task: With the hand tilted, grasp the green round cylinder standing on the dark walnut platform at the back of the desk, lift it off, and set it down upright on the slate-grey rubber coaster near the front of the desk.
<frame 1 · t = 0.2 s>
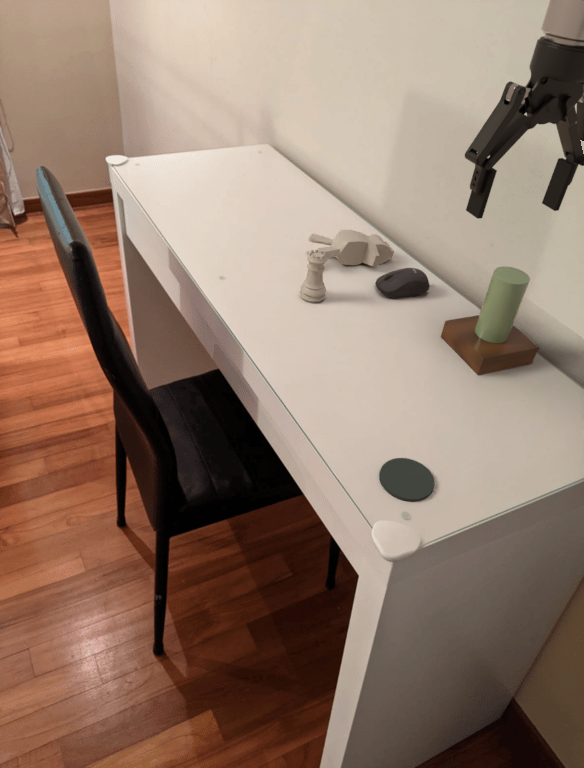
hand: (512, 210, 86), 20 cm above the table, tool pointing down, fingers open, 13 cm apart
rook chess piece: (312, 297, 102), on the table
coaster: (406, 480, 71), on the table
walnut platform: (485, 349, 94), on the table
computer mouse: (401, 291, 106), on the table
green round cylinder: (491, 333, 92), point 3 cm above the table, touching walnut platform
bunny figurine: (350, 261, 113), on the table
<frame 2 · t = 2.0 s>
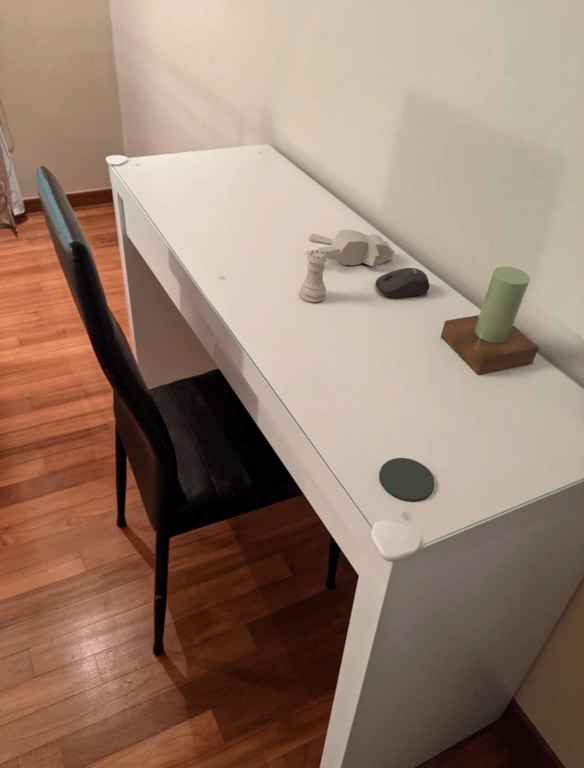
nothing on the table moved.
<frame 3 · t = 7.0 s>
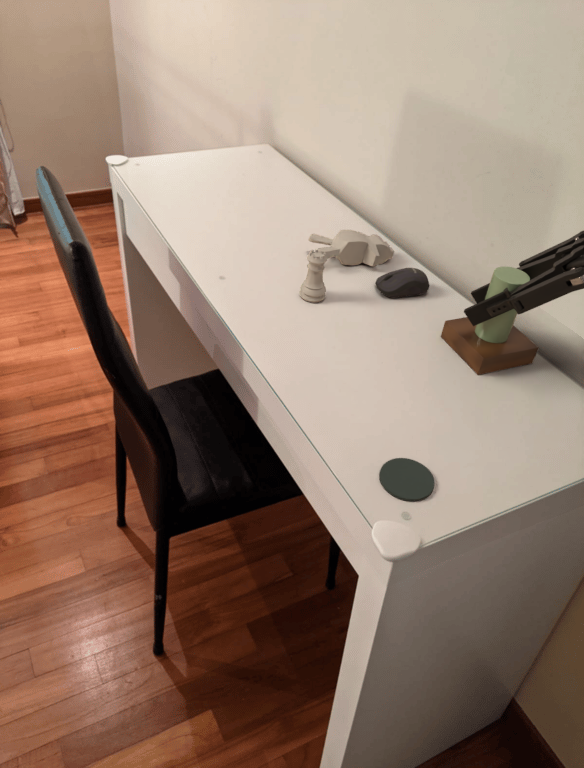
hand: (472, 308, 91), 6 cm above the table, tool tilted 45°, fingers closed on green round cylinder, 5 cm apart
green round cylinder: (491, 333, 92), point 3 cm above the table, touching gripper, walnut platform
everything else where it was.
when the fingers open (4 cm above the table, at t = 17.5 s): green round cylinder stays where it is, resting on coaster.
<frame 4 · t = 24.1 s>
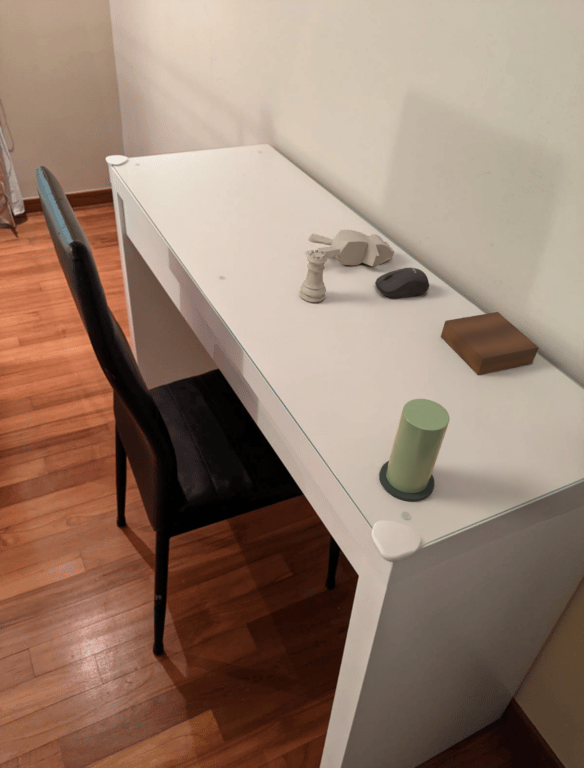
green round cylinder: (407, 477, 71), resting on coaster
everything else where it was.
at the end: green round cylinder 0.1 cm off-centre on the coaster, point 0.4 cm above the coaster's base; green round cylinder tilted 0°; green round cylinder touching coaster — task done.
